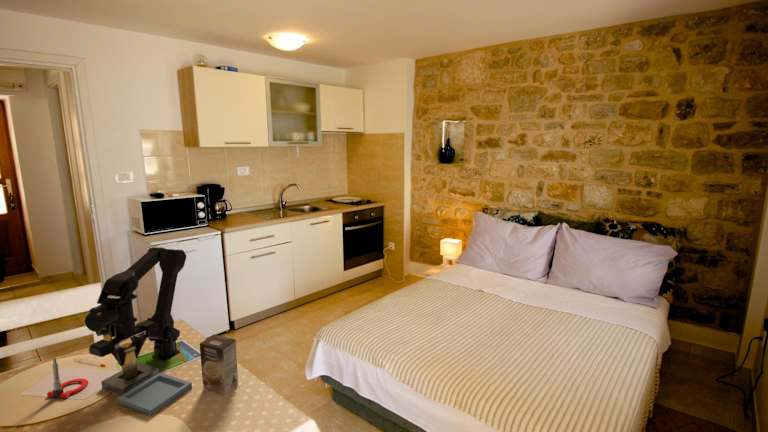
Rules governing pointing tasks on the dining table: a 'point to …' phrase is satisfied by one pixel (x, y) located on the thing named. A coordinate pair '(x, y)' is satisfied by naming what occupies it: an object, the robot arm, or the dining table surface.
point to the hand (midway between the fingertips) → (128, 361)
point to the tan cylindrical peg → (129, 360)
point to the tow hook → (58, 386)
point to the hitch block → (122, 386)
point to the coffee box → (219, 364)
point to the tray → (154, 394)
